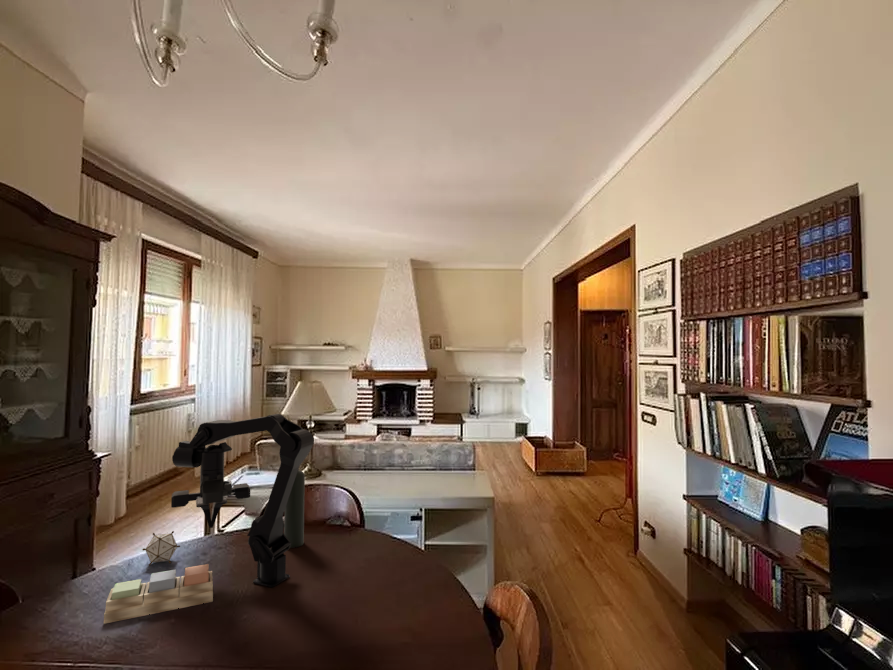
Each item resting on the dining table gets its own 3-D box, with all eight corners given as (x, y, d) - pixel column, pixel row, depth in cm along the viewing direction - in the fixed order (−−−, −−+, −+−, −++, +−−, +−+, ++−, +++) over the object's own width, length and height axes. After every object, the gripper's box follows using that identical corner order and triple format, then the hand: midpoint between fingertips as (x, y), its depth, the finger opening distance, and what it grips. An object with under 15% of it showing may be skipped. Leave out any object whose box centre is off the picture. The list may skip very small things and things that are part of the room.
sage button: (140, 592, 111) (141, 578, 111) (138, 601, 107) (138, 588, 107) (115, 596, 109) (115, 583, 109) (111, 607, 105) (111, 593, 105)
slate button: (175, 582, 114) (175, 569, 115) (174, 591, 110) (174, 578, 110) (151, 586, 112) (151, 573, 112) (148, 596, 108) (149, 582, 108)
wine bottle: (284, 541, 148) (286, 444, 150) (304, 540, 150) (305, 443, 151) (283, 548, 143) (285, 447, 144) (303, 547, 144) (304, 446, 145)
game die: (162, 578, 131) (157, 557, 126) (138, 564, 133) (132, 543, 128) (188, 551, 139) (185, 531, 133) (165, 538, 140) (160, 518, 135)
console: (212, 585, 120) (212, 568, 120) (212, 601, 112) (213, 584, 112) (111, 604, 110) (111, 586, 110) (103, 623, 102) (104, 604, 102)
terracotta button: (208, 576, 118) (208, 563, 118) (208, 584, 113) (208, 572, 113) (185, 580, 115) (185, 567, 115) (184, 589, 111) (184, 576, 111)
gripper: (171, 479, 116) (169, 544, 116) (253, 470, 125) (252, 530, 124) (172, 469, 126) (171, 530, 125) (248, 462, 135) (247, 518, 134)
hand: (211, 527), depth 127 cm, fingers closed
